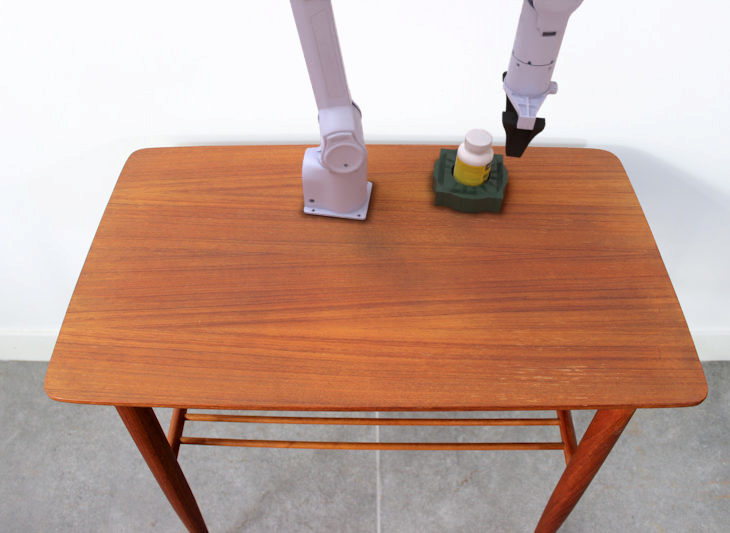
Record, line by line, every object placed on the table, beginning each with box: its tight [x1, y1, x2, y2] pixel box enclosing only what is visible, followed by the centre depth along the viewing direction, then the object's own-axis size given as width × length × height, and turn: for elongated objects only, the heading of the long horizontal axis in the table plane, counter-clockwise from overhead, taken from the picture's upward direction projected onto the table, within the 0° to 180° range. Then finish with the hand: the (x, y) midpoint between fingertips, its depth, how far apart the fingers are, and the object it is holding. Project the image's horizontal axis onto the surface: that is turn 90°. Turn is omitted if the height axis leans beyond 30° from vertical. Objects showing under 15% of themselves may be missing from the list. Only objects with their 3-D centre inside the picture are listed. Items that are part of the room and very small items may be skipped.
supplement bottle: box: [453, 128, 495, 186], centre depth 91 cm, size 5×5×10 cm
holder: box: [431, 147, 509, 214], centre depth 94 cm, size 11×11×3 cm
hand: (513, 137), depth 87 cm, fingers open, 7 cm apart
